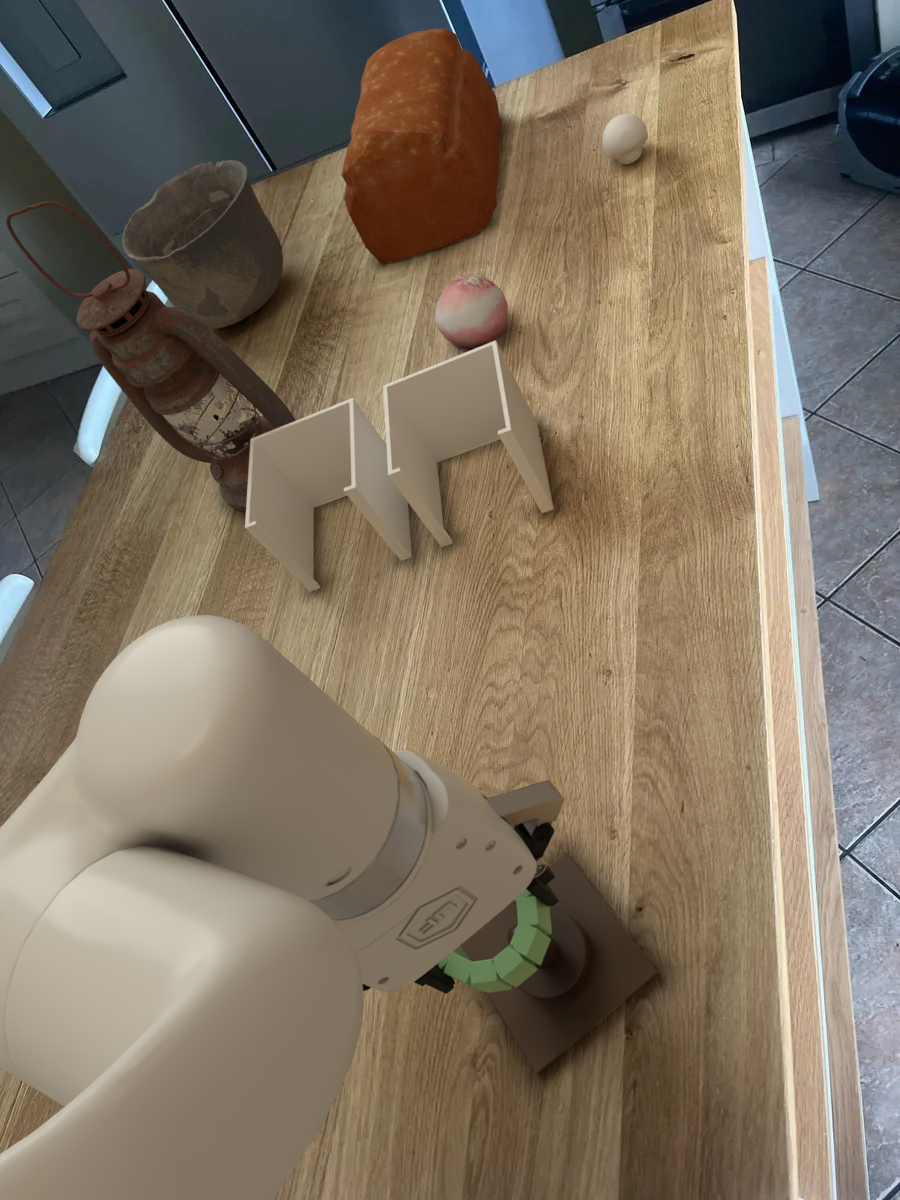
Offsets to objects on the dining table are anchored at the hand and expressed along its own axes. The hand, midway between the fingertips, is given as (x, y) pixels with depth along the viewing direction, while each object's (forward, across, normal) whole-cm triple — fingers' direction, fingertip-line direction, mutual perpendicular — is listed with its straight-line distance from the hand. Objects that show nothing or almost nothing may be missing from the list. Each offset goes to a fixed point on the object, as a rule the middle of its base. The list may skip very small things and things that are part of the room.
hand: (489, 924), depth 52 cm
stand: (+12, 0, 0) cm, 12 cm away
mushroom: (+10, +58, +63) cm, 87 cm away
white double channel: (+11, +14, +41) cm, 45 cm away
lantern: (+11, +4, +61) cm, 62 cm away
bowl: (+11, +16, +91) cm, 93 cm away
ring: (+1, 0, 0) cm, 1 cm away
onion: (+11, +32, +55) cm, 65 cm away
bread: (+10, +44, +83) cm, 95 cm away
